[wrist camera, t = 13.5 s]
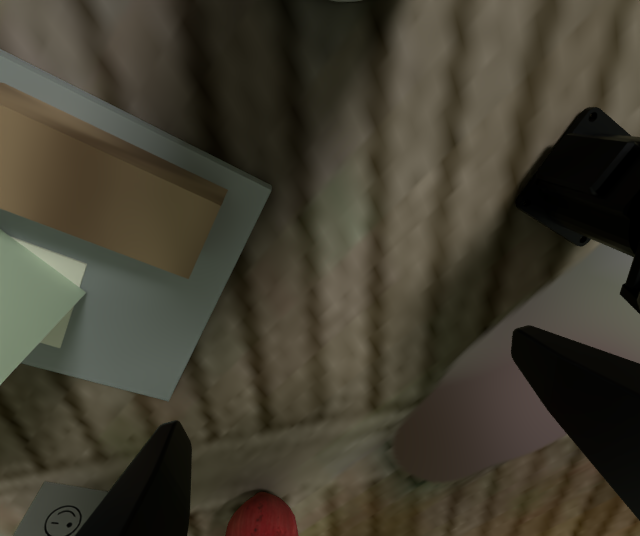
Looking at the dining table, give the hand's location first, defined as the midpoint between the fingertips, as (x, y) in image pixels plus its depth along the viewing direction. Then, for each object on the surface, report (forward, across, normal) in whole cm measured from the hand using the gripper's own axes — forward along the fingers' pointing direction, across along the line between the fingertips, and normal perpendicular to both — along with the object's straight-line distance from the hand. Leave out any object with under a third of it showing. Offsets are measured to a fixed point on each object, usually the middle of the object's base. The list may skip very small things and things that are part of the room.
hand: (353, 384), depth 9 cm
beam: (+12, +8, -5) cm, 15 cm away
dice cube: (+14, +23, +19) cm, 33 cm away
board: (+13, +11, -1) cm, 18 cm away
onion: (+13, +8, +24) cm, 28 cm away
